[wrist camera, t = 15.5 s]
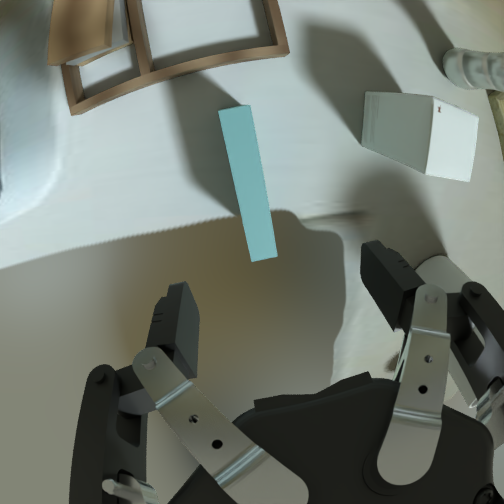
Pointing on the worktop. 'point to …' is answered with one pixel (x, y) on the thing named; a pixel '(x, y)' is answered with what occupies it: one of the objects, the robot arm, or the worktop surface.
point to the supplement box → (421, 133)
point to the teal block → (248, 180)
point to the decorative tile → (498, 114)
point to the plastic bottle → (474, 69)
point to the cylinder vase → (450, 281)
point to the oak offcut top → (79, 29)
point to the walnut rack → (152, 77)
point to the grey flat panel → (117, 32)
